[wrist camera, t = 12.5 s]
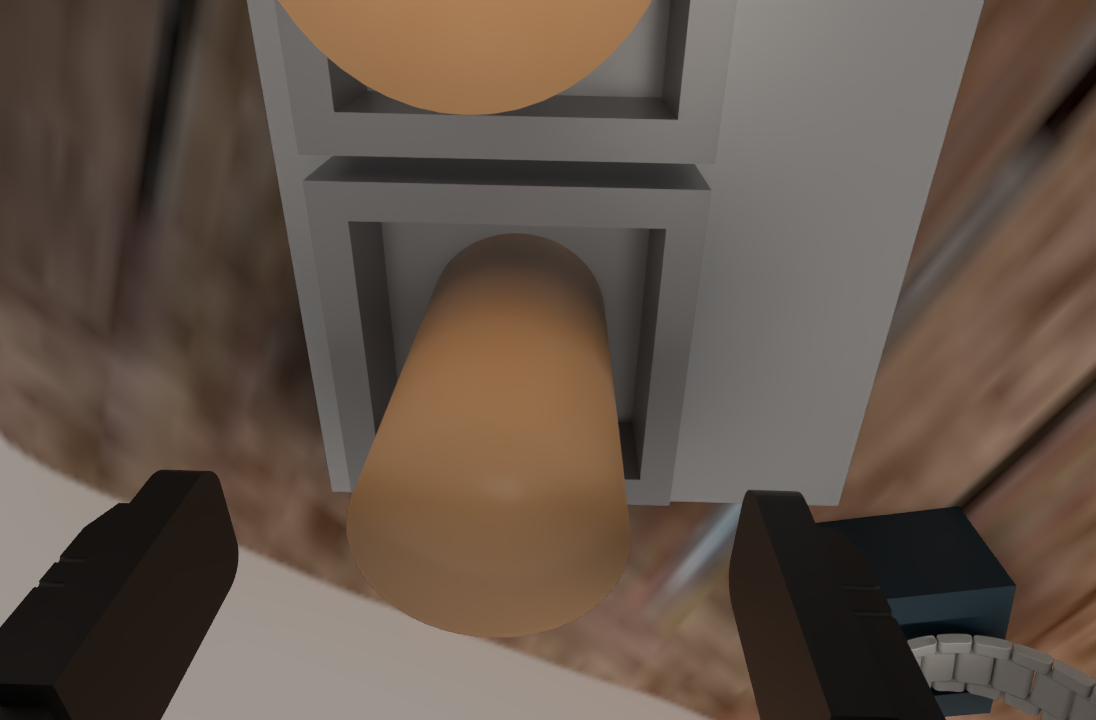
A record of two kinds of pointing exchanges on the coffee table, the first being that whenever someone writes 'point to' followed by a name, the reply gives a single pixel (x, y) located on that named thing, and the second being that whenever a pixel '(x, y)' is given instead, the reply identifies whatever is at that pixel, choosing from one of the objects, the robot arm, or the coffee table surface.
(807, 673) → the robot arm
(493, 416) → the orange peg
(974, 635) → the watch
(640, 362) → the housing
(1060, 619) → the coffee table surface
